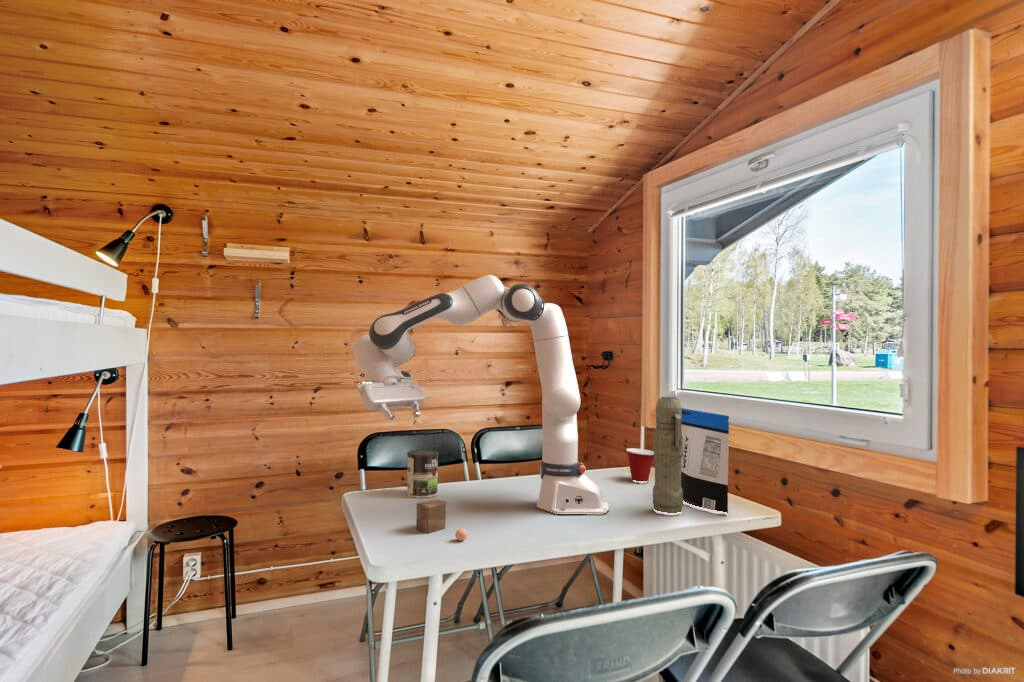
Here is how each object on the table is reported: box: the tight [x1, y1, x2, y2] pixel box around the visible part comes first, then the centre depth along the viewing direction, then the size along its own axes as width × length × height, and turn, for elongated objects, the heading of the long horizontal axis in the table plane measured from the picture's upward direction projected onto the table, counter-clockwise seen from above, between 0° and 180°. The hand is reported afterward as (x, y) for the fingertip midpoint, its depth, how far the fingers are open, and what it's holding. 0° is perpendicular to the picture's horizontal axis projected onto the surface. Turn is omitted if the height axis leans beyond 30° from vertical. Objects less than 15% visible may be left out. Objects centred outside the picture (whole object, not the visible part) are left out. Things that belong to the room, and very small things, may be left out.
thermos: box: [652, 396, 684, 513], centre depth 180 cm, size 9×12×35 cm
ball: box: [454, 528, 468, 542], centre depth 151 cm, size 3×3×3 cm
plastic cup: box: [626, 447, 655, 481], centre depth 219 cm, size 11×11×12 cm
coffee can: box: [406, 449, 439, 499], centre depth 197 cm, size 10×10×14 cm
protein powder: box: [681, 407, 730, 514], centre depth 188 cm, size 10×24×30 cm, turn 20°
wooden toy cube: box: [415, 498, 447, 534], centre depth 160 cm, size 5×6×7 cm
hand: (405, 417), depth 167 cm, fingers open, 8 cm apart
